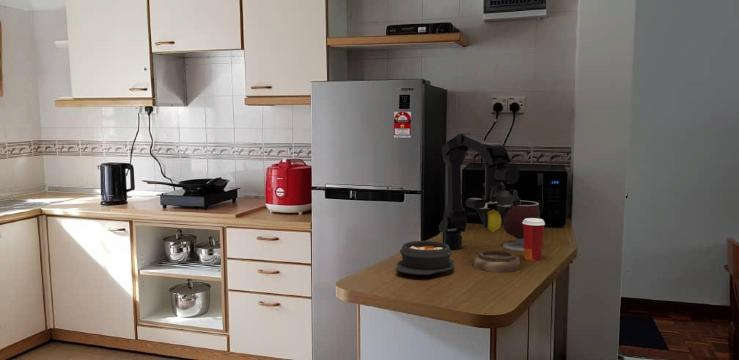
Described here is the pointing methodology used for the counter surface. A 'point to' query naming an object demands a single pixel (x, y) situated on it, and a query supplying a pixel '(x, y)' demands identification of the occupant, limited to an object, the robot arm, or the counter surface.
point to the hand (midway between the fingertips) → (493, 227)
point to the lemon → (494, 220)
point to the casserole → (425, 258)
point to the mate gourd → (519, 222)
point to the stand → (496, 261)
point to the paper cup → (533, 238)
